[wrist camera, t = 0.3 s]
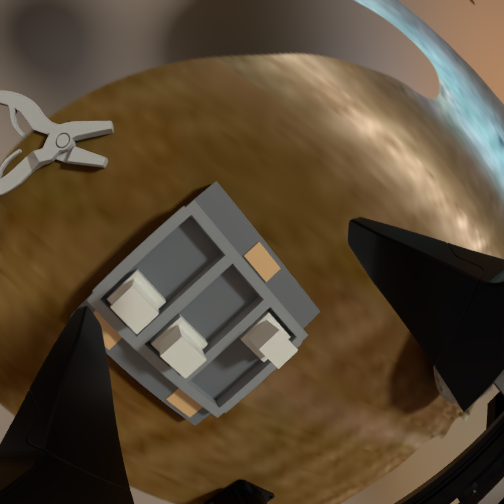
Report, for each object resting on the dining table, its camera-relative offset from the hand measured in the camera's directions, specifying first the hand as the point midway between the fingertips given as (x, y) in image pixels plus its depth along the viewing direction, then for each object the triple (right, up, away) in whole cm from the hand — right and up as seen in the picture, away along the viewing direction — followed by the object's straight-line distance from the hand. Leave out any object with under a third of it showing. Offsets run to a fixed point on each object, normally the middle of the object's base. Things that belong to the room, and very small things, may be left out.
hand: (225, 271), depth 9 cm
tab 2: (-5, -6, +13) cm, 15 cm away
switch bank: (-3, -4, +15) cm, 16 cm away
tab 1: (-8, -3, +11) cm, 14 cm away
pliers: (-17, +9, +9) cm, 22 cm away
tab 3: (+2, -6, +15) cm, 16 cm away
